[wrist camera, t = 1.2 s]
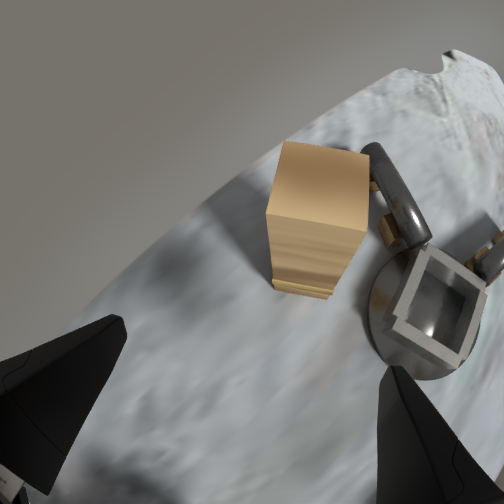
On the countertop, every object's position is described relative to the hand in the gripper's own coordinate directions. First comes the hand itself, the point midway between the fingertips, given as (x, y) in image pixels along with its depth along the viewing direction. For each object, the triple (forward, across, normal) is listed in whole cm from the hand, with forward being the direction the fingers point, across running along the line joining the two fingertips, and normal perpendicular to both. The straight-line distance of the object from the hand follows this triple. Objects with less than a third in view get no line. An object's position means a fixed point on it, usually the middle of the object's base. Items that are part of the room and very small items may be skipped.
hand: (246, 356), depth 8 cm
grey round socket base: (+14, -13, +7) cm, 20 cm away
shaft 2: (+18, -22, +3) cm, 28 cm away
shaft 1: (+21, -9, 0) cm, 22 cm away
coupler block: (+15, -2, +5) cm, 16 cm away
